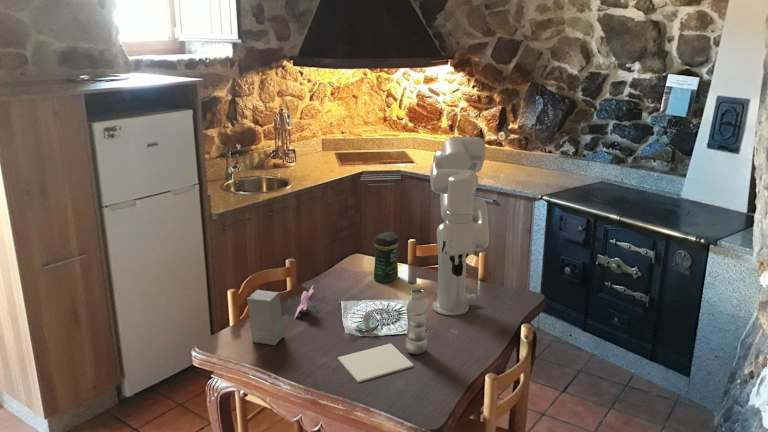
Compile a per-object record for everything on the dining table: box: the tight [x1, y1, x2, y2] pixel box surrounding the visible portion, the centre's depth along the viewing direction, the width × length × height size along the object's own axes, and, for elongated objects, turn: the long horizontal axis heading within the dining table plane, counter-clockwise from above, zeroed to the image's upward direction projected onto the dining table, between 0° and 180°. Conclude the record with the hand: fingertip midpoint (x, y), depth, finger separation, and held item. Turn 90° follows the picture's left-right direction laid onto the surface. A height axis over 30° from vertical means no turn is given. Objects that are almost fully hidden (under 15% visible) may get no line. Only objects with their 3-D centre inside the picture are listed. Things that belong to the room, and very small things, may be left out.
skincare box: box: [246, 289, 285, 346], centre depth 191 cm, size 8×7×16 cm
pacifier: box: [354, 311, 377, 331], centre depth 200 cm, size 7×6×6 cm
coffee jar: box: [373, 231, 400, 283], centre depth 237 cm, size 10×8×19 cm
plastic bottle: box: [404, 288, 429, 355], centre depth 184 cm, size 6×7×20 cm
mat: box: [337, 342, 414, 383], centre depth 181 cm, size 18×14×1 cm
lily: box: [294, 285, 319, 318], centre depth 210 cm, size 12×12×10 cm
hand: (457, 274), depth 186 cm, fingers closed
